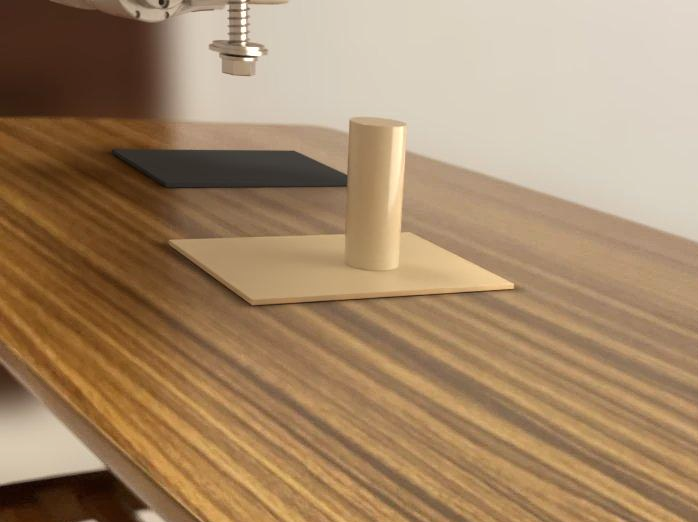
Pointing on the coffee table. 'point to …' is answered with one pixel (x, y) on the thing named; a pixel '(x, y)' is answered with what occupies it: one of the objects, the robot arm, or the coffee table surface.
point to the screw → (238, 43)
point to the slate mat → (231, 168)
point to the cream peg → (374, 193)
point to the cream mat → (330, 269)
